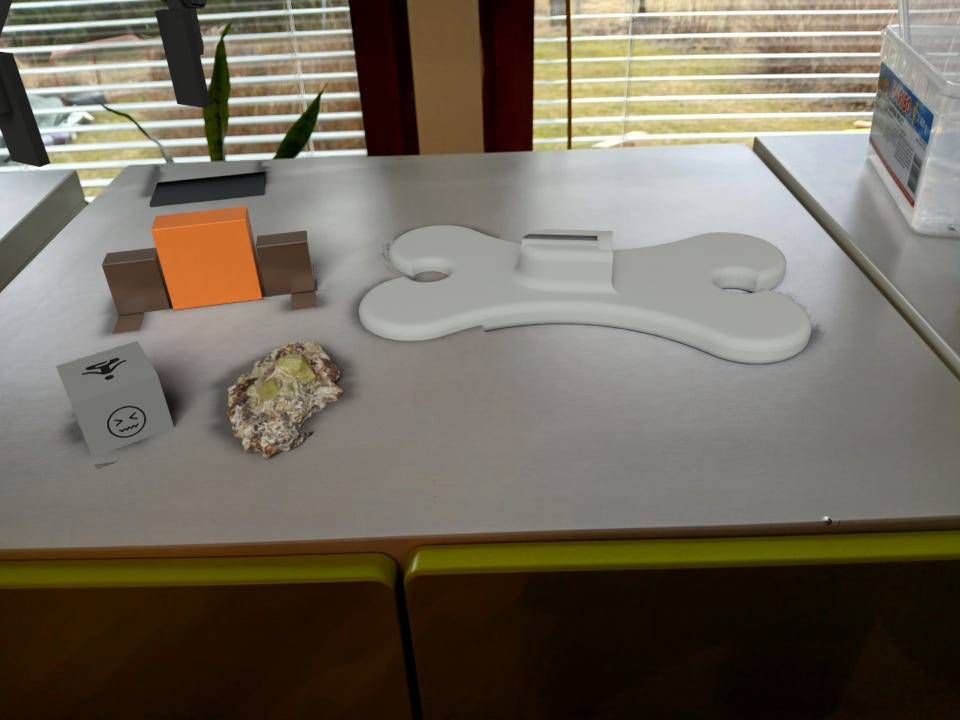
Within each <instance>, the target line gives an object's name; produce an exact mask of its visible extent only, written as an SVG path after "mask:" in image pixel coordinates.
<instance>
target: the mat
mask: <svg viewBox="0 0 960 720" xmlns="http://www.w3.org/2000/svg"><path fill="white" fill-rule="evenodd" d="M265 187H266V170H265V171H255V172H245V173H237V174H226V175H215V176H206V177H196V178H188V179H187V178H186V179H178V180H177V179H176V180H169V181H157V182H156V185H155V188H154V189H153V193H152V195H151V199H150V201H149V206H150V207H161V206H170V205H179V204H188V203H189V204H191V203H198V202H210V201H217V200H225V199H226V200H227V199H233V198H234V199H236V198H237V199H238V198H246V197H255V196H264V195H265V191H266V190H265V189H266V188H265Z"/></svg>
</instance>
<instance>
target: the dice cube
mask: <svg viewBox="0 0 960 720" xmlns="http://www.w3.org/2000/svg"><path fill="white" fill-rule="evenodd" d="M55 367H56V370H57V372H58V375H59V378H60V380H61V383H62V386H63V387H64V390H65V393H66V395H67V398H68V400H69V403H70V406H71V407H72V408H71V409H72V410H73V413H74V415H75V419H76V420H77V424H78V426H79V428H80V431H81V433H82V435H83V438H84V440H85V443H86V446H87V448H88V451H89V453H90V456H91V458H95V457H98V456H100V455H103V454H106V453H109V452H112V451H114V450H117V449H119V448H123V447H125V446H128V445H131V444H133V443H136V442H139V441H142V440H144V439H147V438H150V437H152V436H155V435H158V434H161V433H163V432H166V431H169V430H171V429H174V428H175V426H174V422H173V419H172V415H171V413H170V410H169V407H168V403H167V400H166V397H165V394H164V391H163V387H162V384H161V382H160V378H159V375H158V373H157V372H156V369H155V368H154V366H153V365H152V363H151V362H150V359H149V358H148V356H147V354H146V353H145V351H144V349H143V348H142V346H141V345H140V343H139V341H138V340H135V341H132V342H129V343H125V344H123V345H119V346H116V347H112V348H110V349H106V350H103V351H100V352H97V353H94V354H90V355H87V356H84V357H81V358H80V357H79V358H77V359H74V360H71V361H68V362H65V363H61V364H58V365H56V366H55ZM117 462H119V460H117V461H110V462H103V463H97V464H94V465H95V469H96V470H98V469H101V468H104V467H106V466H110V465H112V464H115V463H117Z"/></svg>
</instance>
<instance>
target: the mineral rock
mask: <svg viewBox="0 0 960 720" xmlns="http://www.w3.org/2000/svg"><path fill="white" fill-rule="evenodd" d="M340 378H341V372H340V369H339V368H338V366H337V365H336V363H335V361H334V359H331V358H330V356H329V355H328V354H327V353H326V352H325V350H323V348H322V347H321V346H320V345H319V343H317V341H314V340H304V339H301V340H300V341H299V342H296V341H289V342H287V344H286V345H284V346H279V347H276V348H271V350H270V353H268V354H266V355H264V356H263V357H260V358H259V359H258V360H257V361H256V362H255V363H254V364H253V369H252V371H251V373H250V374H248V375H247V374H246V375H245V374H241V375H240V376H239V377H237V379H236V383H235V384H234V385H230V386H229V387H228V388H226V390H227V391H228V394H227V400H228V401H227V407H229V409H228V411H227V413H226V414H227V418H228V419H229V420H230V422H231V426H230V427H231V428H232V431H234V432H233V433H232V435H233V437H237V438H241V440H242V442H241V444H242V447H244V451H245V452H249V453H250V454H251V453H255V452H259V453H260V454H261V457H262V458H263V459H264V460H268V459H270V458H272V457H273V456H274V455H275V454H277V453H278V452H289V451H292V450H293V449H295V448H296V447H299V446H301V445H302V444H304V443H303V442H304V441H305V439H307V438H309V437H311V435H312V434H314V430H312V431H306V432H299V431H300V428H301V426H303V423H304V422H305V420H307V419H308V418H309V417H312V415H313V413H317V412H321V411H322V410H323V409H325V407H326V406H327V403H331V402H338V401H340V400H341V399H342V394H343V393H344V390H343V388H341V387H339V386H338V385H337V384H336V382H337V381H338V380H340Z"/></svg>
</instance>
